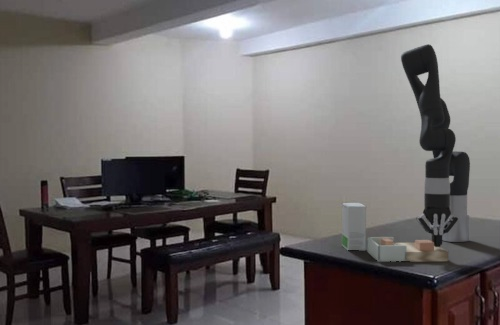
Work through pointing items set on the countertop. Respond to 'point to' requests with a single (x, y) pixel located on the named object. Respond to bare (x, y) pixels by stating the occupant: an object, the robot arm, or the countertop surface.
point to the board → (424, 254)
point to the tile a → (386, 242)
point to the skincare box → (353, 226)
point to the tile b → (424, 245)
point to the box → (386, 250)
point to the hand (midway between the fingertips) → (436, 246)
